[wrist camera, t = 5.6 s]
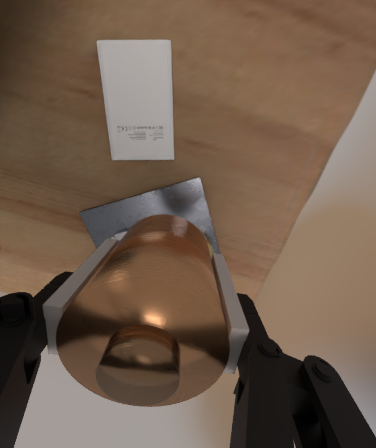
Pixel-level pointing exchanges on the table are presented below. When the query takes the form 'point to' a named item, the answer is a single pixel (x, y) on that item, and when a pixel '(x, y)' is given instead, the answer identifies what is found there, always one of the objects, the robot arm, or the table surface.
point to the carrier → (152, 212)
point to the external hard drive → (138, 98)
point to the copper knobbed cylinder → (148, 318)
